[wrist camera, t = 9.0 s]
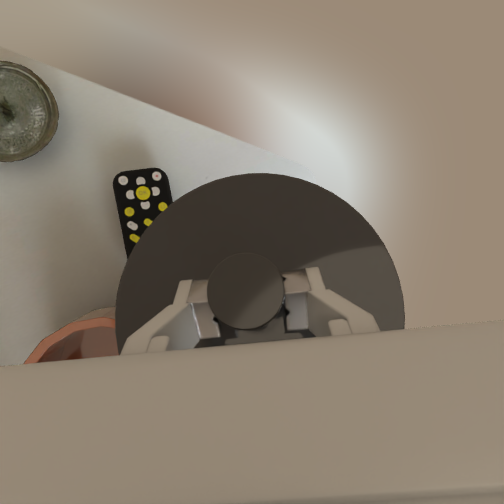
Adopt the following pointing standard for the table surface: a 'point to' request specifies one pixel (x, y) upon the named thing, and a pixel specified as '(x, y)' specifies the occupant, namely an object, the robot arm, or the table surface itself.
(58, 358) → the jar
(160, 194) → the remote control
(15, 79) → the lid
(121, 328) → the jar lid
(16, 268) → the table surface
